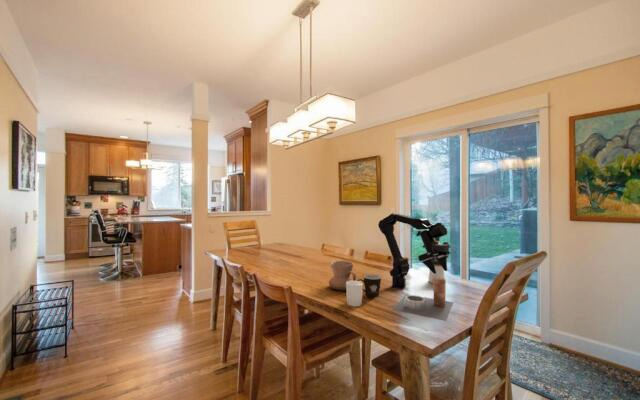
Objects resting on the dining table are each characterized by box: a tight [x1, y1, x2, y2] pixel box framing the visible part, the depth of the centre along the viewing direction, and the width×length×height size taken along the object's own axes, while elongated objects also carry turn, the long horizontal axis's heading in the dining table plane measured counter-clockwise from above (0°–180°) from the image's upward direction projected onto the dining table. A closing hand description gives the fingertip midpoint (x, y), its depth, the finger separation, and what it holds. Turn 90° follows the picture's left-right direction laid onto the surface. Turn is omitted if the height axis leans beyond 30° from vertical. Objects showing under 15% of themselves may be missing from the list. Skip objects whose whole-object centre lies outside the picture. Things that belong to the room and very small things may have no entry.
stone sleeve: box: [405, 294, 425, 311], centre depth 131 cm, size 8×8×4 cm
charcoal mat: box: [391, 294, 454, 321], centre depth 133 cm, size 22×24×1 cm
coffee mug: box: [356, 274, 382, 300], centre depth 149 cm, size 12×9×10 cm
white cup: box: [345, 280, 364, 308], centre depth 138 cm, size 8×8×10 cm
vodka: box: [428, 238, 446, 285], centre depth 173 cm, size 9×9×30 cm
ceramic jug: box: [328, 260, 357, 292], centre depth 161 cm, size 18×14×14 cm
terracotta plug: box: [433, 278, 447, 308], centre depth 133 cm, size 5×5×12 cm
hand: (440, 272), depth 144 cm, fingers open, 9 cm apart
